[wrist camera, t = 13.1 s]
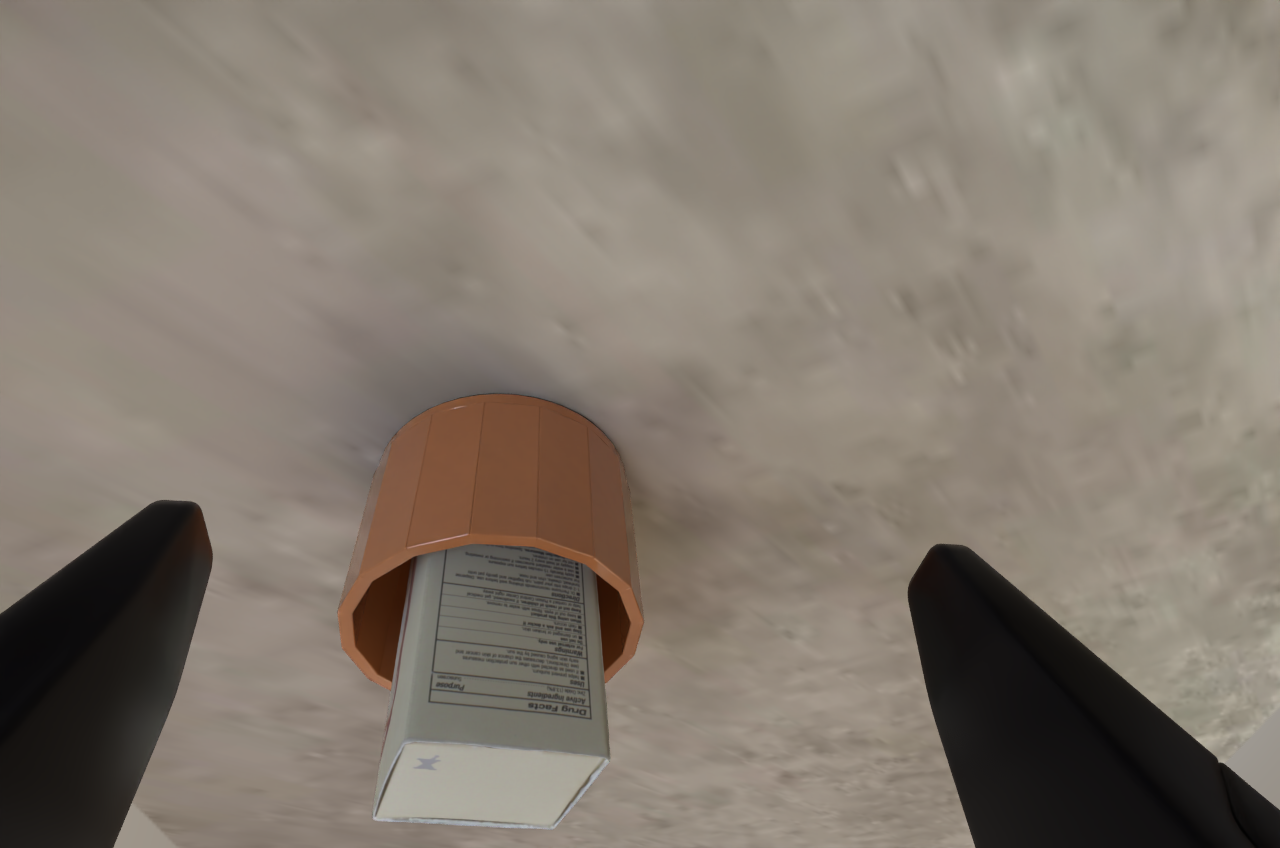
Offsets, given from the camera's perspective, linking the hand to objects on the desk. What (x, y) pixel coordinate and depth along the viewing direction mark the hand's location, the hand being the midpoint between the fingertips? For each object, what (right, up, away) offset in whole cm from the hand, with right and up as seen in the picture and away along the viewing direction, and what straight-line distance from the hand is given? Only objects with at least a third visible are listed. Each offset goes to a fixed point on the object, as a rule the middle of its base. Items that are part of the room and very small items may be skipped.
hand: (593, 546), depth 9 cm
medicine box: (-4, -1, +17) cm, 17 cm away
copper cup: (-4, -1, +17) cm, 18 cm away
